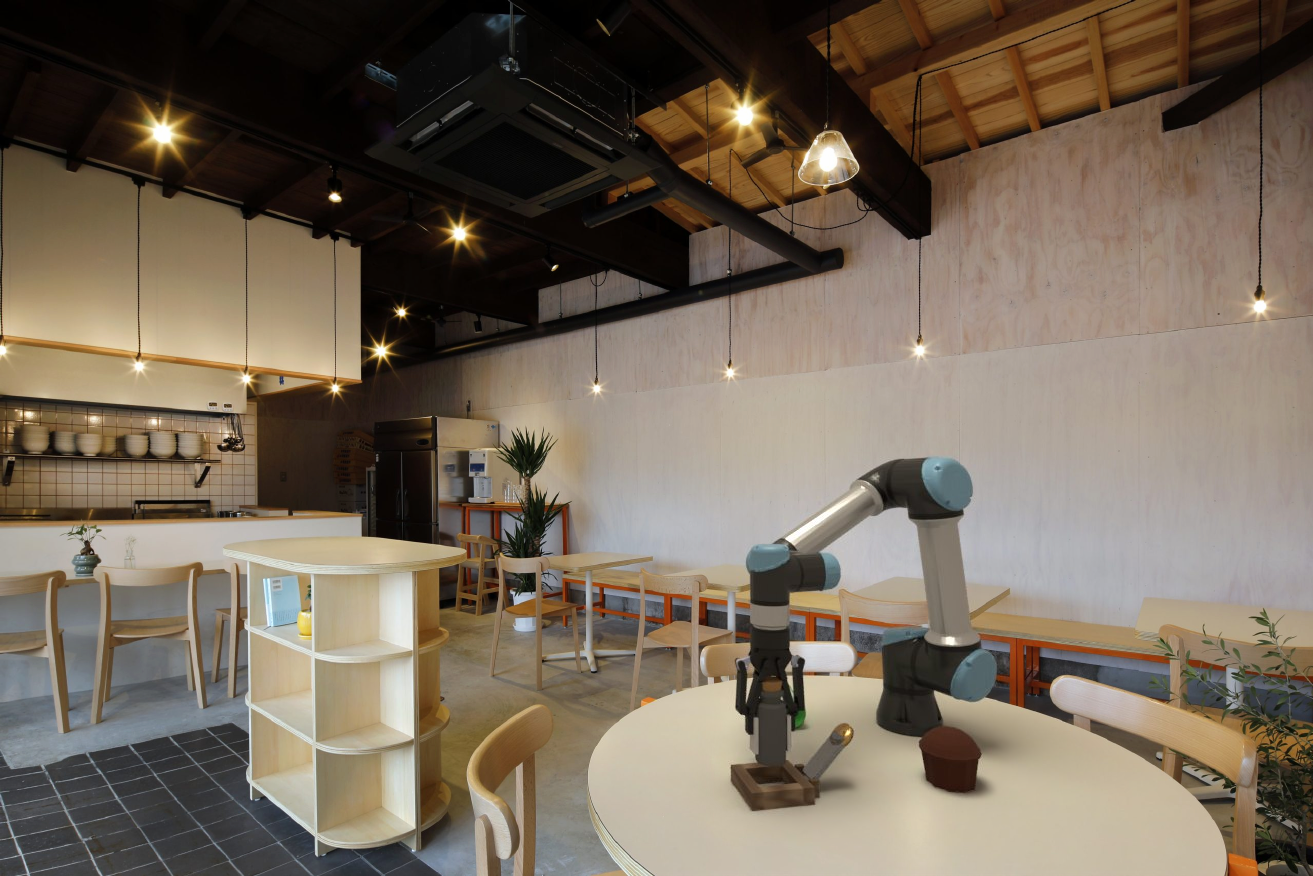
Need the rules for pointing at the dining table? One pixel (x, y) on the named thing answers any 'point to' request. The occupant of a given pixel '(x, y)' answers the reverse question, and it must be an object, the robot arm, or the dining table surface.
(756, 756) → the bottle
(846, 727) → the bar
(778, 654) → the robot arm
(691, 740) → the dining table surface
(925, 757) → the muffin
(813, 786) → the socket block
